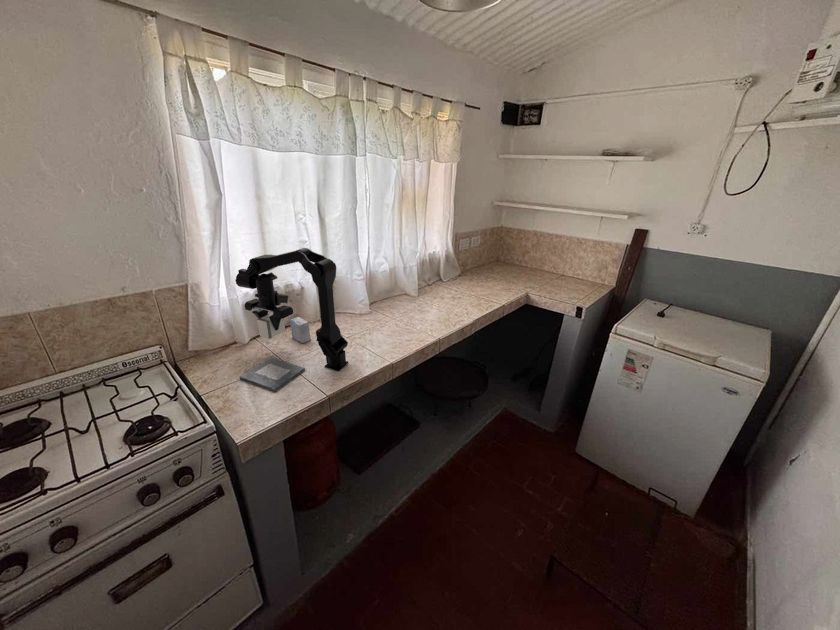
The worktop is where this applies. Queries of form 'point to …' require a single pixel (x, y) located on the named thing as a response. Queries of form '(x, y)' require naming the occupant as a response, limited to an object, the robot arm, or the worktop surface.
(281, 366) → the duct plate
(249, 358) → the worktop surface
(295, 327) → the medicine box
